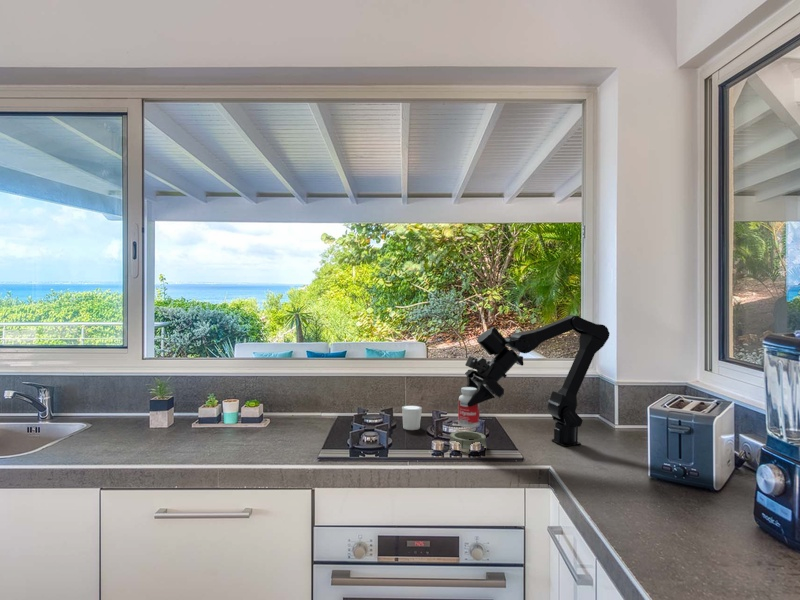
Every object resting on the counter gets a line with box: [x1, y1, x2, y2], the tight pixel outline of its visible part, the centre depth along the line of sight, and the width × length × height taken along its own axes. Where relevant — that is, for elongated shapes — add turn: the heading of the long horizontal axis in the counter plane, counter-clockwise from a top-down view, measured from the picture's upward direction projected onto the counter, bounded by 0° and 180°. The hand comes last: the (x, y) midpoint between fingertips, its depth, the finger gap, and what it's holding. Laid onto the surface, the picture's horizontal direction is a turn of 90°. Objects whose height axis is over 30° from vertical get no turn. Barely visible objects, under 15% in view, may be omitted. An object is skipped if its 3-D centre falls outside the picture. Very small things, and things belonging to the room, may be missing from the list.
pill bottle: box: [457, 386, 480, 429], centre depth 148 cm, size 6×6×11 cm
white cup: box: [401, 404, 423, 431], centre depth 169 cm, size 7×7×7 cm
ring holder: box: [449, 430, 487, 452], centre depth 148 cm, size 11×11×4 cm
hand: (464, 403), depth 148 cm, fingers closed on pill bottle, 6 cm apart
